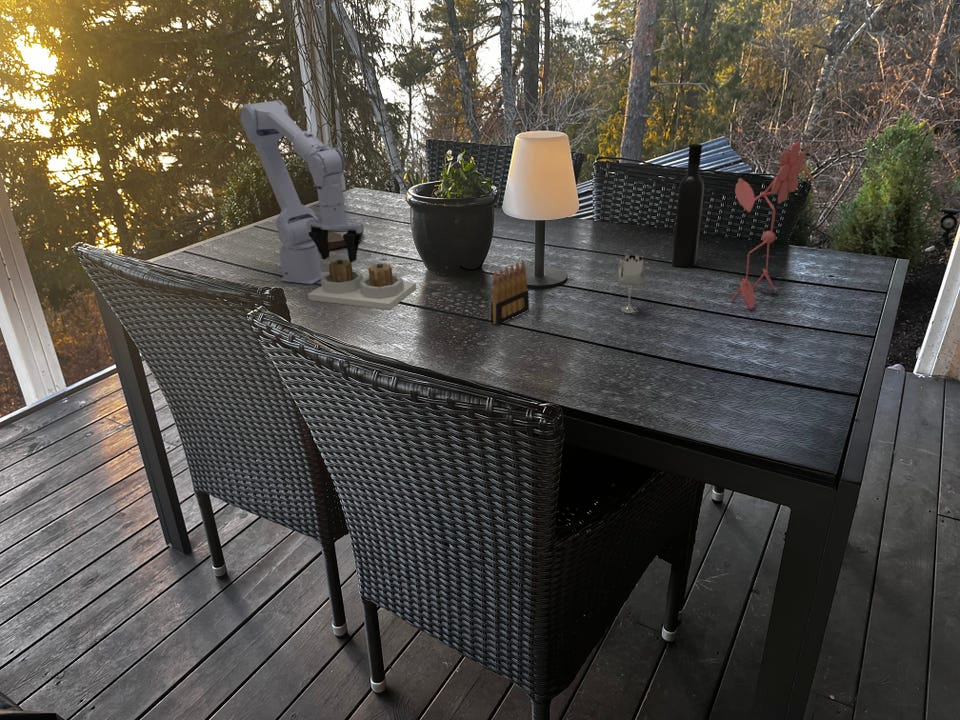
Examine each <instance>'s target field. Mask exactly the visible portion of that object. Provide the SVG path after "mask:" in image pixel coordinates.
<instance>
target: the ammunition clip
mask: <svg viewBox="0 0 960 720" xmlns="http://www.w3.org/2000/svg"><path fill="white" fill-rule="evenodd" d="M526 270H527V269H526V263H525V261H524V260H522V261H521V263H520V264H519V262H517V263H516V264H515V268H514V265H513V264H511V265H510V267H509V268H508V266H506V267H505V268H504V271H503V269H502V268H500V269H499V272H498V273H497V271H494V272H493V277H492V291H491V296H492V298H491V299H492V301H490V323H493V324H492V325H494V324H495V326H497V325H498V326H500V325H501V324H500V323H502V322H504V321H506V320H508V319H511V318H512V317H515V316H517V315H519V314H521V313H523V312H525V311H527V310H529V311H530V305H529V304H530V301H529V300H530V299H529V290H528V285H527V284H528V281H527V280H528V279H527V273H526ZM523 314H524V313H523ZM521 315H522V314H521ZM519 316H520V315H519ZM517 317H518V316H517ZM515 318H516V317H515ZM511 320H512V319H511ZM506 322H507V321H506ZM504 323H505V322H504ZM499 324H500V325H499ZM502 324H503V323H502Z"/></svg>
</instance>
